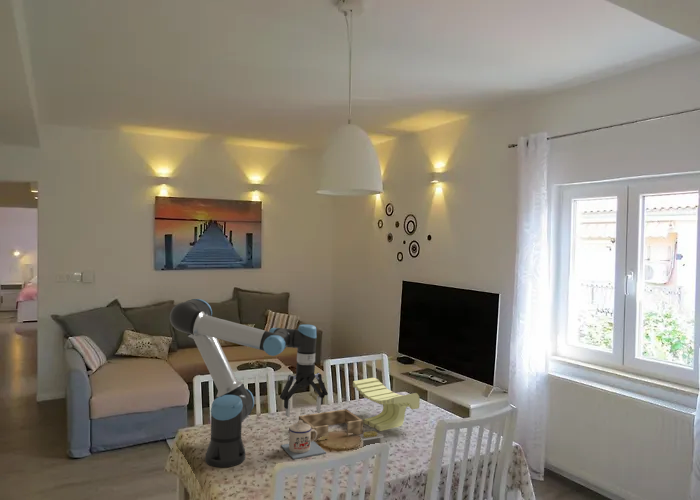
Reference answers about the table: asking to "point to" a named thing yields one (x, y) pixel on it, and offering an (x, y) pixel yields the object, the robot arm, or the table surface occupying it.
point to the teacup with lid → (300, 437)
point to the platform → (370, 438)
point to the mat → (313, 451)
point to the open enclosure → (332, 422)
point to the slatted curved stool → (386, 403)
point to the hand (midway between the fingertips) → (303, 414)
